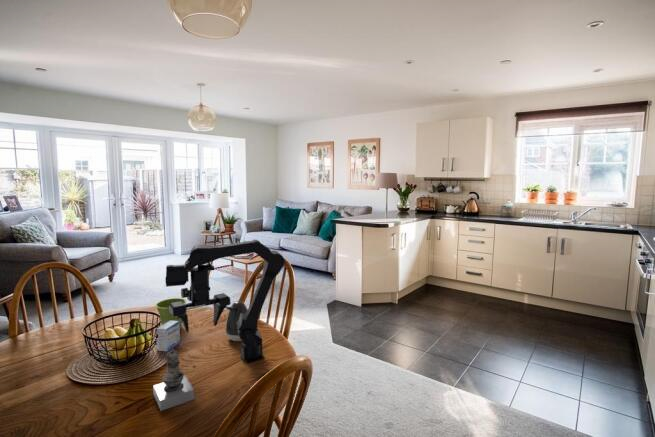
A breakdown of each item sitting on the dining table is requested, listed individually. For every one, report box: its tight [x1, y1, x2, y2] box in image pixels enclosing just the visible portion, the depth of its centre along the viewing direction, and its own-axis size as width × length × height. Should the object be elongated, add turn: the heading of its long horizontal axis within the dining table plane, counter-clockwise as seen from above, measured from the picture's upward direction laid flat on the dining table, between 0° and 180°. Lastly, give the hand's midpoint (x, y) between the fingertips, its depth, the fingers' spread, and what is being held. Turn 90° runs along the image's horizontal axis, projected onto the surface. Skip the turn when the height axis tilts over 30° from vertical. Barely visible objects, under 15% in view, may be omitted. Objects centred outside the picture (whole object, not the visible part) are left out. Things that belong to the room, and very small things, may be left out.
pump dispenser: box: [224, 300, 248, 342], centre depth 142 cm, size 10×10×15 cm
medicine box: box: [156, 321, 181, 352], centre depth 135 cm, size 8×4×9 cm, turn 168°
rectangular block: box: [152, 375, 195, 412], centre depth 104 cm, size 9×9×3 cm
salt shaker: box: [161, 347, 185, 393], centre depth 104 cm, size 6×6×12 cm
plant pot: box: [155, 297, 187, 330], centre depth 151 cm, size 12×12×11 cm
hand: (201, 328), depth 121 cm, fingers open, 9 cm apart
